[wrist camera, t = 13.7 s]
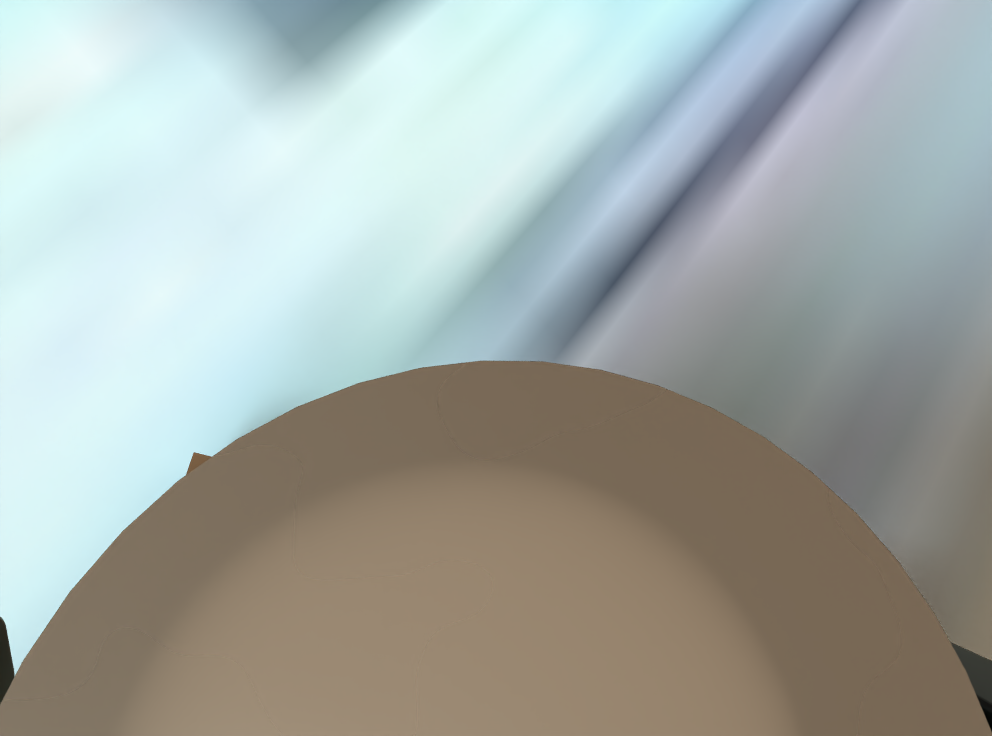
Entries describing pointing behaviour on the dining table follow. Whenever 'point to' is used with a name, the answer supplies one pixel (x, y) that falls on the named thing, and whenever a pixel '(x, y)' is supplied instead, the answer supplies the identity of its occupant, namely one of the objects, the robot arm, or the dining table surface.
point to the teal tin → (496, 581)
